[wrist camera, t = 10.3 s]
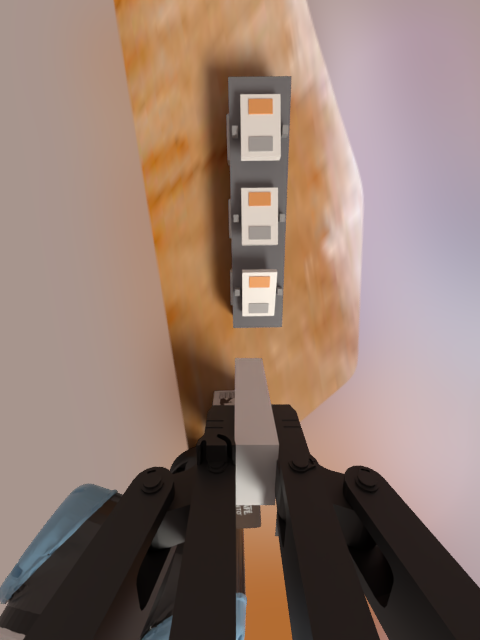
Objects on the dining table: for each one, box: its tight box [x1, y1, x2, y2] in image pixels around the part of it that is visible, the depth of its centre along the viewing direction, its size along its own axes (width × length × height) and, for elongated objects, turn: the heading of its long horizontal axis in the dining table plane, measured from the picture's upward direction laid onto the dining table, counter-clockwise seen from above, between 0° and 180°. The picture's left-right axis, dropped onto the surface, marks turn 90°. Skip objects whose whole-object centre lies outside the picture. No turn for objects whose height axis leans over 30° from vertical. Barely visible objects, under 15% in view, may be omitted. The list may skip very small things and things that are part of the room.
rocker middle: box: [241, 188, 278, 246], centre depth 31 cm, size 6×4×1 cm, turn 1°
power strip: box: [226, 76, 291, 328], centre depth 34 cm, size 27×7×6 cm, turn 1°
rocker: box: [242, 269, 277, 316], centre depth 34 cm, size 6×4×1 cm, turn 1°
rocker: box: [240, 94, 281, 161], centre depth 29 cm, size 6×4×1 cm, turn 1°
